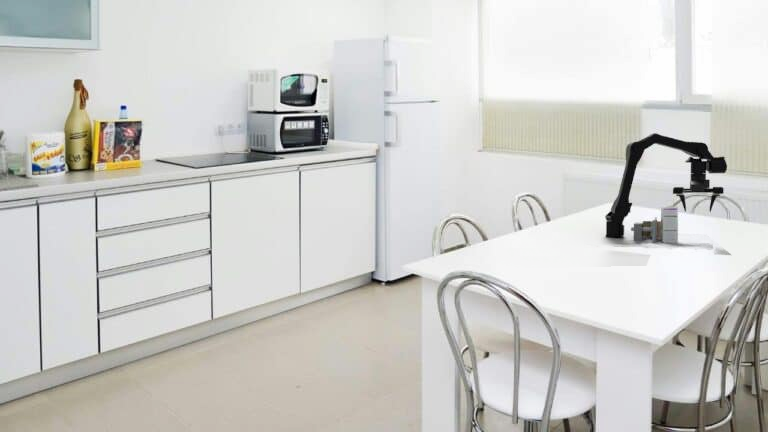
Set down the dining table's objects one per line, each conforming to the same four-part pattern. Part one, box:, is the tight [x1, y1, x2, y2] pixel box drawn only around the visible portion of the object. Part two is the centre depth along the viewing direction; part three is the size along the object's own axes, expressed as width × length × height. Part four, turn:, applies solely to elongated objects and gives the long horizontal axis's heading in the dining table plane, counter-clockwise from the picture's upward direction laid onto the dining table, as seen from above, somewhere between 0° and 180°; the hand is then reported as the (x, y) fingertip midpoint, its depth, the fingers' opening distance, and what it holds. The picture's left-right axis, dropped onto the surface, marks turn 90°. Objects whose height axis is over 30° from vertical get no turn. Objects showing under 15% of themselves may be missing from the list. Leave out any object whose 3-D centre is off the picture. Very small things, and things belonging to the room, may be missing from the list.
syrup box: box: [660, 205, 679, 244], centre depth 269 cm, size 6×6×14 cm
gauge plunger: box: [630, 216, 658, 243], centre depth 276 cm, size 10×13×9 cm
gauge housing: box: [633, 220, 661, 242], centre depth 274 cm, size 10×11×8 cm
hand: (697, 211), depth 276 cm, fingers open, 9 cm apart
